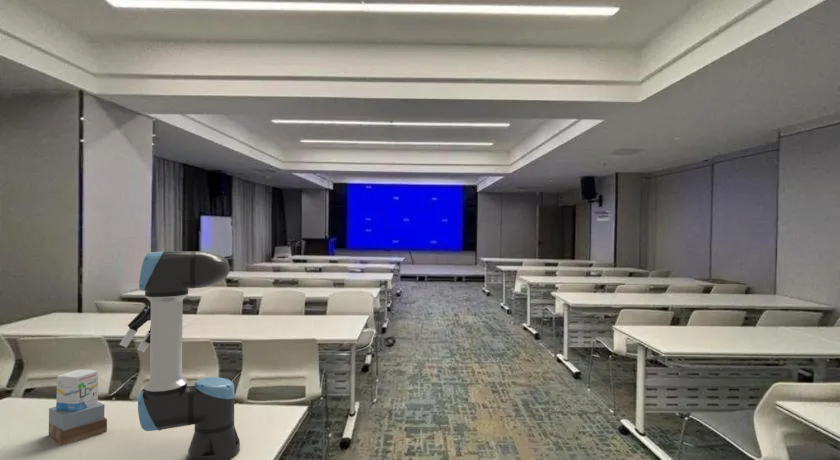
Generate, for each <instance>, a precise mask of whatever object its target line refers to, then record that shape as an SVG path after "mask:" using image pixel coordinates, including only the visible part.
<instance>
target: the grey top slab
mask: <svg viewBox="0 0 840 460" xmlns="http://www.w3.org/2000/svg"><path fill="white" fill-rule="evenodd" d="M104 417H105V404H104V403H102V402H99V401H98V402H97V403H96V404H94V405H91V406H89V407H86V408H83V409H81V410H78V411H65V410H56V406H53V407H49V408H48V424H49V423H50V424H52V425H53V426H55V427H57V428H59V429H60V430H62V431H66V430H69V429H72V428H76V427H79V426H82V425H86V424H89V423H92V422H95V421H99V420H102V419H104Z"/></svg>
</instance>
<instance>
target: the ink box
mask: <svg viewBox="0 0 840 460" xmlns="http://www.w3.org/2000/svg"><path fill="white" fill-rule="evenodd" d="M98 382H99V370H94V369H85V368H84V369H76V370H73V371H70V372H66V373H63V374H60V375H57V376H56V400H55V401H56V404H55V407H56V410H65V411H78V410H81V409H83V408H86V407H89V406H91V405H94V404H96V403H97V402H99V401H98V399H99V397H98V395H99V394H98V391H99V390H98V389H99V383H98Z"/></svg>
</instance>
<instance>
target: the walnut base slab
mask: <svg viewBox="0 0 840 460" xmlns="http://www.w3.org/2000/svg"><path fill="white" fill-rule="evenodd" d="M107 432H108V419H107V418H106V417H105V416H104V419H102V420H99V421H95V422H92V423H89V424H86V425H82V426H79V427H76V428H72V429H69V430H66V431H62V430H60V429H59V428H57V427H55V426H53V425H52V424H50V423H49V422H48V436H49V437H50V438H51V439H52V440H54V441H55V442H56V443H57V444H59V445H60V446H61V447H63V446H66V445H68V444H72V443H75V442H78V441H82V440H85V439H89V438H92V437H95V436H97V435H101V434H104V433H107Z"/></svg>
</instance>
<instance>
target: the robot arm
mask: <svg viewBox="0 0 840 460" xmlns="http://www.w3.org/2000/svg"><path fill="white" fill-rule="evenodd" d="M140 269H141V270H140V276H139V281H138V283H139V285H138V290H139V291H142V292H144V297H145V298H146V300H148V301H149V304H150V306H147V305H145V306H144V307H143V308H142V309H141V311H140V312H139V313H138V314H137V315H136V316H135V317H134V318H133V319H132V320H131V321H130V322H129V323H128V325H127V327H128V328H129V329H128V331H127V332H126V333H125V335H124V337H123V338H122V340H121V341H120V342H119V345H120V346H122V347H124V348H128V346H129V345H130V343H131V341H132V340H133V338H134V337H135V335H136V334H137V332H138V329H140V328H141V327H142V326H143V325H145V324H146V323H147V322H149V321H150V327H149V330H148V331H147V333H146V334H145V336H144V337H143V339H142V341H141V342H140V344H139V345H138V347H137V349H136V350H138V351H140V352H142V353H146V350H147V349H148V348H149V347H150V348H149V350H150V354H149V359H150V360H149V381H148V382H147V383H146V384H145V385H144V386H143V391H140V392H139V393H138V396H137V412H138V413H137V414H138V419H139V424H140V426H141V428H142V430H143V431H146V432H153V431H163V430H169V429H175V428H180V427H187V426H192V425H193V426H194V432H193V434H192V438H191V440H190V444H189V446H188V450H187V459H188V460H229V459H232V458H234V457H235V456H236V455H238V453H239V452H240V450H241V442H240V441H241V440H240V438H239V435H238V432H237V429H236V426H235V398H236V394H235V393H236V392H235V384H234V383H233V381H232V380H230V379H228V378H226V377H225V378H223V377H218V376H217V377H214V376H211V377H203V378H199V379H197V380H196V381H195V382H194V384H193V385H188V380H187V378H185V377H184V376H183V313H184V312H183V302H184V299H185V298H186V297H187V296H188V295H189V289H190V290H191V289H202V288H207V287H211V286H214V285H216V284H217V285H218V284H219V283H222V282H223V281H225V279H226V278H227V277H228V276H229V274H230V264H229V261H228V259H227V258H225V257H224V256H222V255H220V254H216V253H213V252H208V251H202V250H201V251H200V250H196V251H187V250H186V251H178V250H177V251H173V250H172V251H170V250H169V251H164V250H162V251H151V252H148V253H146V255H145V256H144V258H143V261H142V265H141V267H140Z"/></svg>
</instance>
